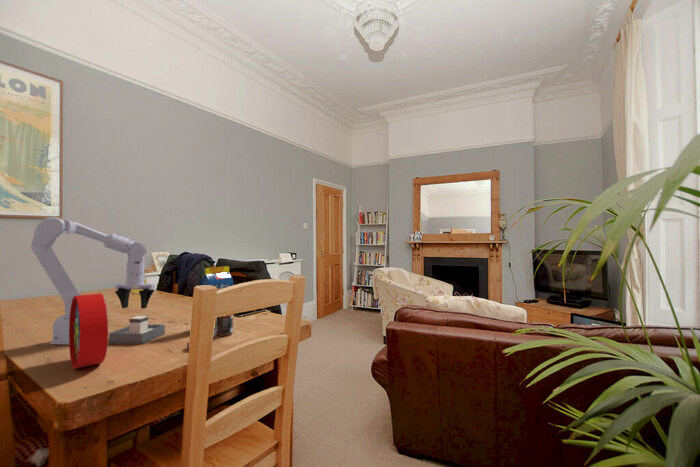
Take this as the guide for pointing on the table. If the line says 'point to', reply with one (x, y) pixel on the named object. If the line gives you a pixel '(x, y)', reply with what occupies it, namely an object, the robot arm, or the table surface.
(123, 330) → the walled box
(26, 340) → the table surface
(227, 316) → the supplement bottle
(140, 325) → the plug
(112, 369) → the table surface
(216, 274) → the blue food package
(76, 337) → the toy clock
